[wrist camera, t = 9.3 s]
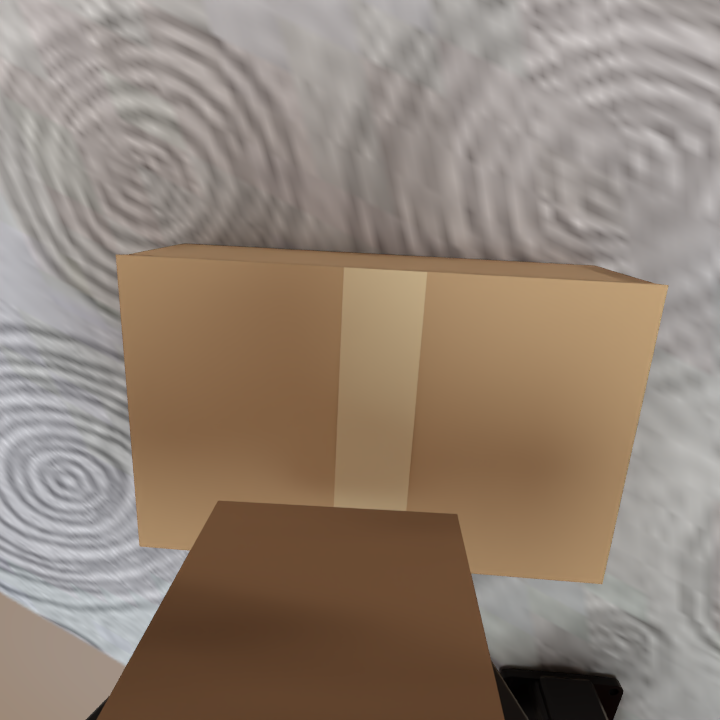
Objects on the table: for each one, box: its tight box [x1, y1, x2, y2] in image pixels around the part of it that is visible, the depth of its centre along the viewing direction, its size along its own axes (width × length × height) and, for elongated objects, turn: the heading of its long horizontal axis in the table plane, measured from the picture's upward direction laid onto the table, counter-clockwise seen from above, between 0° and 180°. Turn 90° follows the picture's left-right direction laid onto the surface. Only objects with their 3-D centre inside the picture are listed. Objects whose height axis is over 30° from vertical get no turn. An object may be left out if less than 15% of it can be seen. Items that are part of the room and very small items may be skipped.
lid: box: [116, 255, 668, 584], centre depth 14 cm, size 10×16×1 cm, turn 87°
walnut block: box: [97, 501, 505, 720], centre depth 7 cm, size 4×4×4 cm
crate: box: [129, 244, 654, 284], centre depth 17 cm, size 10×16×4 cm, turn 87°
